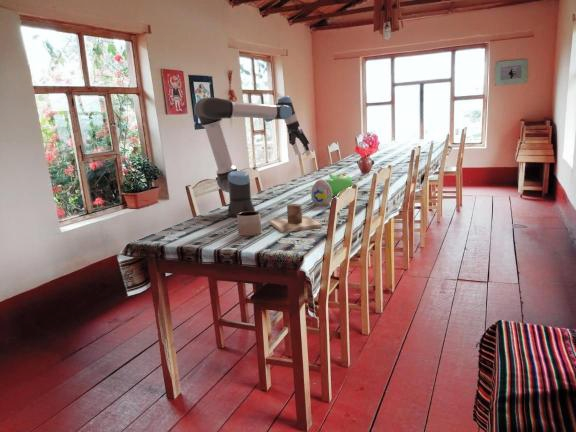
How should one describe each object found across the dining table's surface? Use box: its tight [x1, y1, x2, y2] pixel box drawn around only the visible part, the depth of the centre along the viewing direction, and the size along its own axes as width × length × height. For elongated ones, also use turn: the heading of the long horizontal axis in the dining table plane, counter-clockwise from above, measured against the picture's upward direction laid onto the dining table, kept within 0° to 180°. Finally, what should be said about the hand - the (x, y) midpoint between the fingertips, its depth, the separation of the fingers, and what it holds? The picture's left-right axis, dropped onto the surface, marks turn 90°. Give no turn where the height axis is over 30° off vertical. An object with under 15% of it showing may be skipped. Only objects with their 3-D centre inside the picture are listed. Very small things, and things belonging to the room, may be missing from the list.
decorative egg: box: [310, 179, 333, 207], centre depth 268 cm, size 12×12×15 cm
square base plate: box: [269, 203, 323, 233], centre depth 223 cm, size 20×20×10 cm
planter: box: [236, 210, 262, 237], centre depth 213 cm, size 11×11×10 cm
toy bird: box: [324, 172, 355, 197], centre depth 290 cm, size 18×17×15 cm
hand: (303, 154), depth 282 cm, fingers open, 13 cm apart
